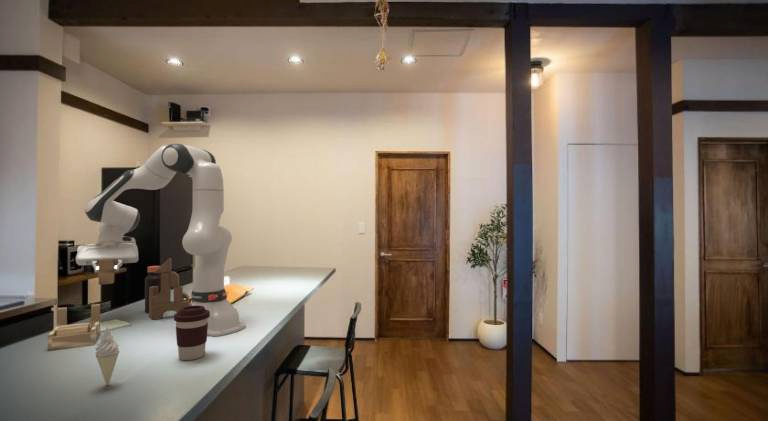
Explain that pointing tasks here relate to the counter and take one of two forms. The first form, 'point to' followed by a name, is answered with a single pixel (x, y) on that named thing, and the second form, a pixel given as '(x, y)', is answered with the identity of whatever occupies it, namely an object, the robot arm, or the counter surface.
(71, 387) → the counter surface
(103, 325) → the pad
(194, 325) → the coffee cup
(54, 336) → the tan piece
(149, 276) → the bottle
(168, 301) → the wooden toy
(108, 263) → the block
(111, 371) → the ice cream cone
